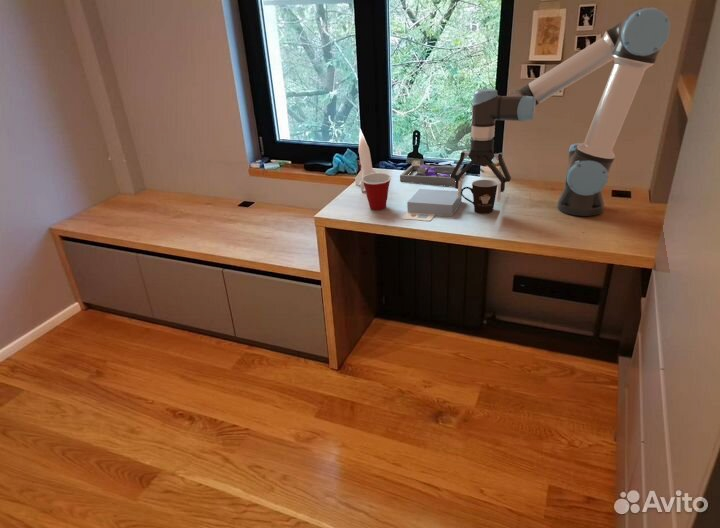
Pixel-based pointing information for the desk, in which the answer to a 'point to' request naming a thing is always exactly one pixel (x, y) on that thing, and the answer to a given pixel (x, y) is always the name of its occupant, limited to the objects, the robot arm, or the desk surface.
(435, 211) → the base brick
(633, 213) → the desk surface
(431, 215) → the page
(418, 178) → the tray
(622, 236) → the desk surface
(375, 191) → the plastic cup
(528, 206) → the desk surface
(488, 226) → the desk surface
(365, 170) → the rocket
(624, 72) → the robot arm
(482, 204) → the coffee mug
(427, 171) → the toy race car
